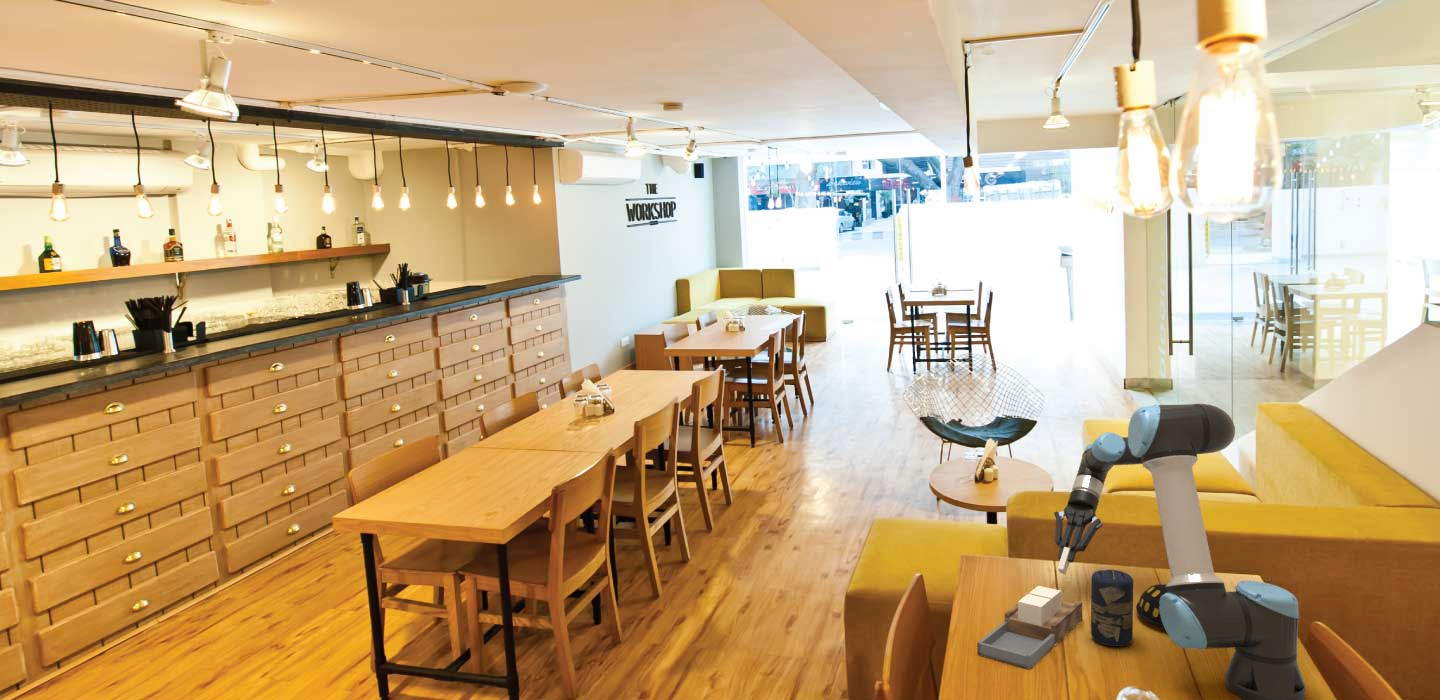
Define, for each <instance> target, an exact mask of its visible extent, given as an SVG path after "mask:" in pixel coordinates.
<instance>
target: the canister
mask: <svg viewBox="0 0 1440 700" xmlns="http://www.w3.org/2000/svg"><path fill="white" fill-rule="evenodd" d="M1090 589H1091V590H1090V593H1091V594H1090V596H1091V597H1090V598H1091V599H1090V600H1091V601H1090V635H1091V637H1092V639H1093V640H1095V641H1096V642H1098V643H1099V644H1102V645H1106V646H1110V647H1111V646H1112V647H1123V646H1127V645H1129V644H1130V643H1131V642H1132V641H1133V628H1134V627H1133V626H1134V624H1133V623H1134V621H1133V619H1134V616H1133V615H1134V579H1133V578H1132V576H1131V575H1130V574H1128V573H1127V572H1124V571H1121V570H1117V569H1100V570H1097V571H1095V572H1093V573H1092V574H1091V587H1090Z"/></svg>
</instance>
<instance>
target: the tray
mask: <svg viewBox="0 0 1440 700" xmlns="http://www.w3.org/2000/svg"><path fill="white" fill-rule="evenodd" d="M976 645H977V646H976V647H977V648H976V649H977V654H979V655H978V656H980V655H982V656H981V657H984V656H986V657H985V658H987V657H989V658H988V659H991V658H992V660H994V661H995V660H996V661H999V662H1002V663H1006V664H1009V665H1012V666H1017V667H1020V668H1024V669H1027V670H1030V669H1031V668H1032V667H1034V666H1035V665H1036V664H1037V663H1038V662H1039V661H1041V659H1042V658H1043V657H1044V656H1045V655H1047V652H1048V651H1049V650H1050V649H1051V648H1052V647H1053V646H1054V645H1055V634H1050V635H1049V636H1048V637H1047V638H1046V639H1045V640H1044V641H1042V640H1038V639H1035V638H1031V637H1027V636H1023V635H1019V634H1015V633H1012V632H1008V631H1007V622H1005V621H1003V622H1001V624H999V625H998V626H996V627H995V628H993V630H991V632H989V633H988V634H987V635H985V636H984V637H983V638H982V639H980V640H979V641H977V643H976ZM1055 646H1056V645H1055ZM1055 646H1054V647H1055ZM1054 647H1053V648H1054ZM1053 648H1052V649H1053ZM1052 649H1051V650H1052ZM1051 650H1050V651H1051ZM1050 651H1049V652H1050ZM1049 652H1048V653H1049Z"/></svg>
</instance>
